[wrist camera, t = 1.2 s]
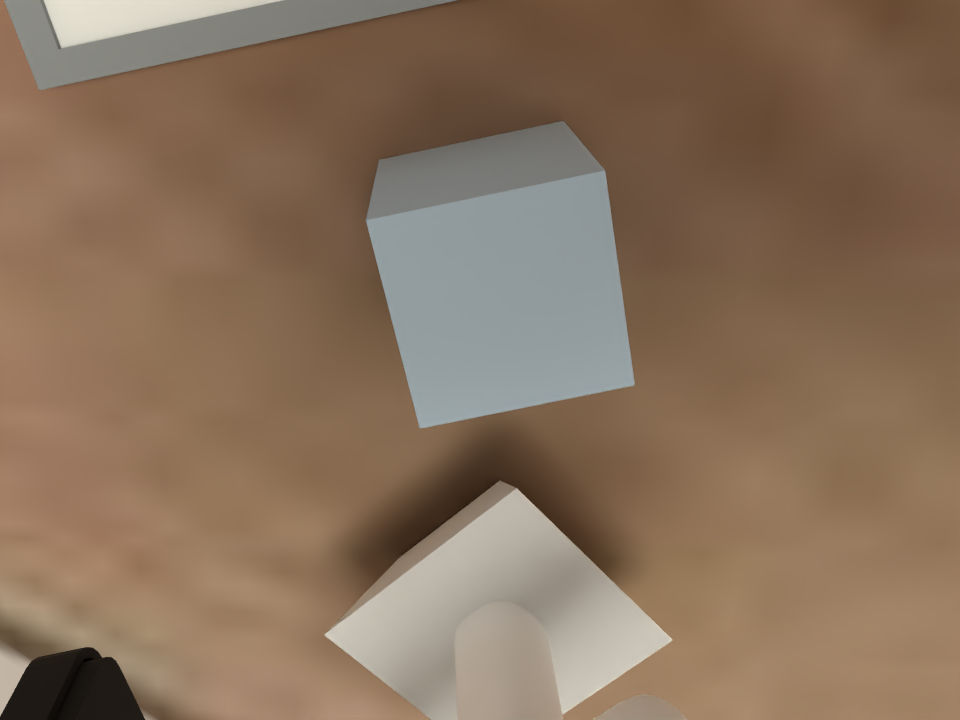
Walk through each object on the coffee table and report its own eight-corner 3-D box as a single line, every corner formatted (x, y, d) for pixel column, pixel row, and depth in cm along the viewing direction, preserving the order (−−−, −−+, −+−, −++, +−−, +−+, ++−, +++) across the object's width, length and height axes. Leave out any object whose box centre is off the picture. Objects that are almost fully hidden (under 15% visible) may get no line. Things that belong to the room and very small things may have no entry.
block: (563, 120, 24) (605, 170, 18) (590, 294, 26) (634, 385, 20) (379, 159, 24) (366, 220, 18) (420, 328, 26) (420, 428, 20)
